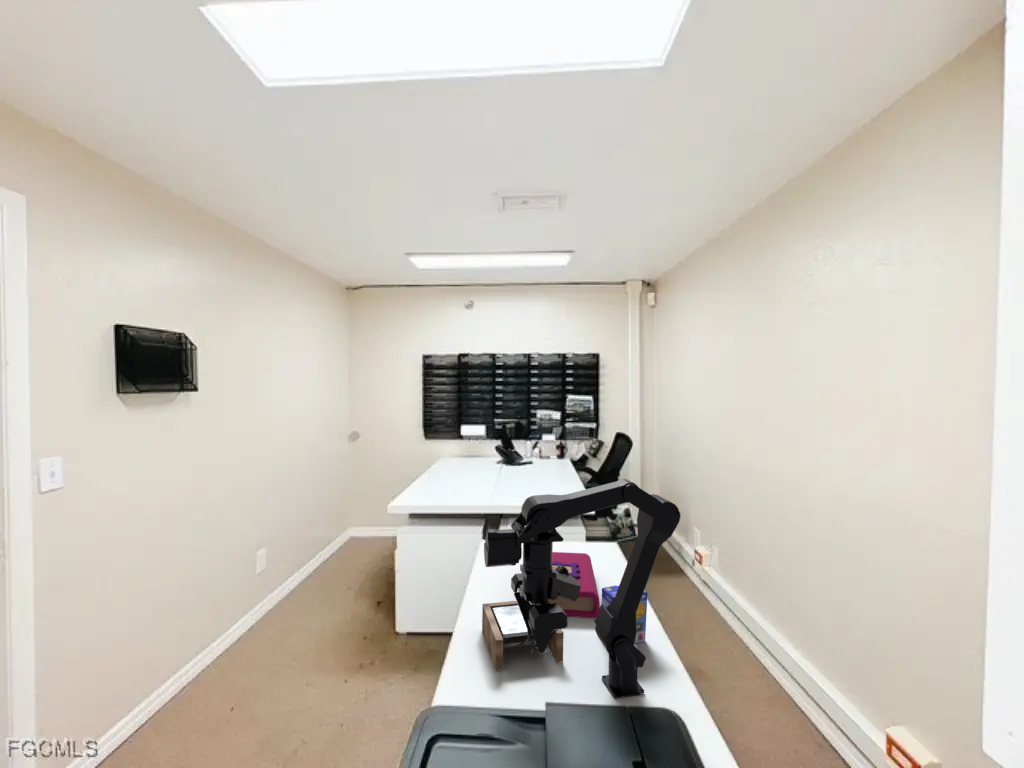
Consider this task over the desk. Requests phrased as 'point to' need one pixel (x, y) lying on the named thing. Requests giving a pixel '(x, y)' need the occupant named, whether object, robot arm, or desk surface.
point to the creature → (533, 639)
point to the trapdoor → (510, 621)
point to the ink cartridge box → (608, 598)
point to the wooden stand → (496, 640)
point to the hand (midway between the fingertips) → (536, 642)
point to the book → (584, 574)
